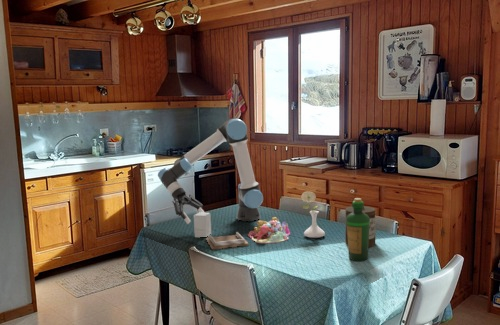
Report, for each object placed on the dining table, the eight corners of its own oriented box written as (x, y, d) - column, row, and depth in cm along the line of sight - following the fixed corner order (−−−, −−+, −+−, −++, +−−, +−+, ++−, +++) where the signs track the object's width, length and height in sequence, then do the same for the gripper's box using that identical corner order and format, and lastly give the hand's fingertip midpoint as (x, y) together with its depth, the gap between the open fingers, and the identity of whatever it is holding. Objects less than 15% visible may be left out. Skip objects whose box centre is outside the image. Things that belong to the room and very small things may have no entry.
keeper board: (239, 236, 259) (239, 230, 259) (248, 245, 242) (248, 239, 241) (205, 240, 254) (205, 234, 254) (212, 249, 237) (211, 243, 236)
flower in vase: (327, 234, 257) (327, 189, 254) (321, 240, 246) (321, 193, 243) (304, 232, 262) (303, 188, 259) (298, 238, 252) (297, 192, 249)
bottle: (343, 255, 221) (343, 197, 218) (365, 254, 222) (365, 195, 219) (350, 263, 211) (349, 201, 207) (373, 261, 211) (373, 200, 208)
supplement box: (211, 234, 265) (210, 212, 263) (206, 238, 258) (205, 215, 256) (199, 233, 267) (198, 212, 266) (194, 237, 260) (193, 215, 259)
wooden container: (358, 250, 229) (358, 205, 226) (339, 242, 242) (339, 200, 239) (381, 244, 235) (381, 201, 233) (361, 238, 249) (361, 197, 246)
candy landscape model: (242, 234, 265) (241, 218, 264) (279, 228, 274) (279, 213, 272) (259, 245, 242) (259, 228, 241) (300, 239, 251) (299, 222, 249)
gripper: (188, 191, 281) (208, 219, 275) (157, 199, 261) (178, 229, 254) (194, 183, 278) (215, 211, 271) (164, 190, 257) (185, 220, 251)
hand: (197, 220), depth 263 cm, fingers open, 13 cm apart
